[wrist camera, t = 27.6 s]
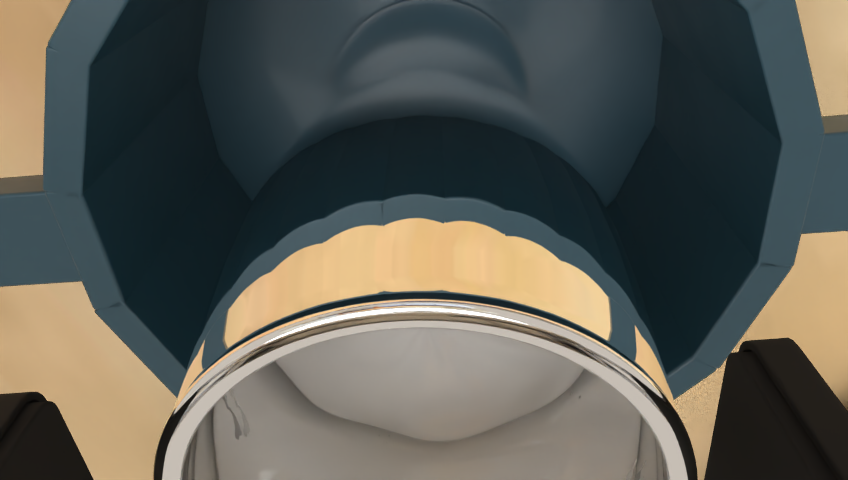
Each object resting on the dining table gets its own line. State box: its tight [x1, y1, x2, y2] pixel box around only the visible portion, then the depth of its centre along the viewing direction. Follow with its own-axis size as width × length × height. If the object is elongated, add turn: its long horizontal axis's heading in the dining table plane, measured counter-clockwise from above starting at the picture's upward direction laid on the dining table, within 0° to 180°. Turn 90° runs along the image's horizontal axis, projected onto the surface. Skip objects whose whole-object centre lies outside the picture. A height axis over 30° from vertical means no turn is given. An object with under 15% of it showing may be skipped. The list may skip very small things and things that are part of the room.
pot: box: [0, 0, 848, 399], centre depth 18 cm, size 16×21×8 cm
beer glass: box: [153, 0, 698, 480], centre depth 15 cm, size 7×7×15 cm
